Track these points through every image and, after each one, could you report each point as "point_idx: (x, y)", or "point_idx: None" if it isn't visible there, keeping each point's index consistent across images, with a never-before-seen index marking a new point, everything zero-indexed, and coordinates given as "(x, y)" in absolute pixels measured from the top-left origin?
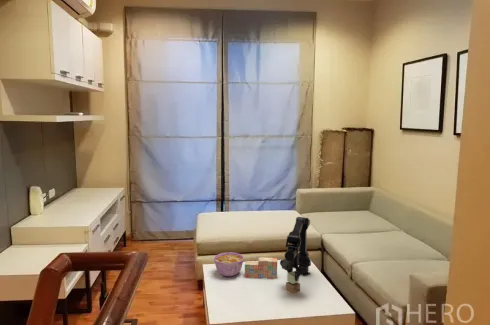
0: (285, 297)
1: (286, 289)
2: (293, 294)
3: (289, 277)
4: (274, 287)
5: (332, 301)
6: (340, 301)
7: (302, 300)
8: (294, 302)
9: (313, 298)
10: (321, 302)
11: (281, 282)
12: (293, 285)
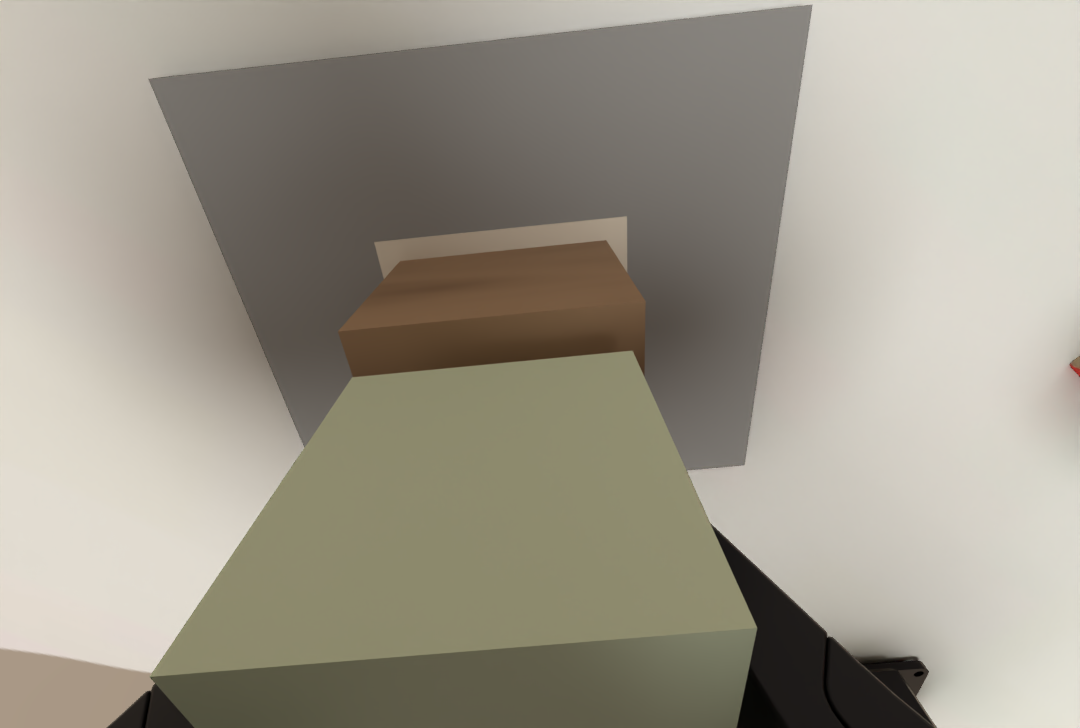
0: (352, 28)
1: (596, 248)
2: (381, 266)
3: (515, 471)
4: (895, 108)
5: (49, 594)
6: (42, 648)
7: (133, 285)
8: (58, 74)
9: (177, 466)
10: (26, 487)
11: (917, 366)
12: (373, 371)
